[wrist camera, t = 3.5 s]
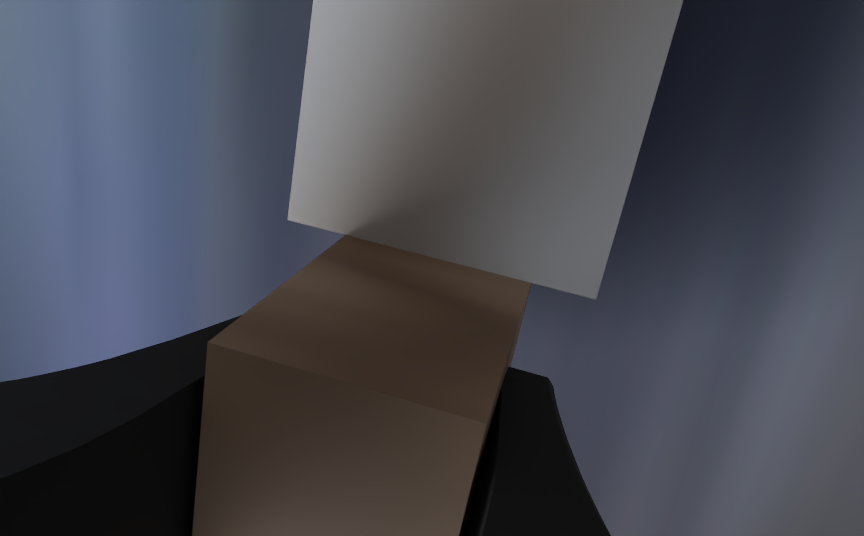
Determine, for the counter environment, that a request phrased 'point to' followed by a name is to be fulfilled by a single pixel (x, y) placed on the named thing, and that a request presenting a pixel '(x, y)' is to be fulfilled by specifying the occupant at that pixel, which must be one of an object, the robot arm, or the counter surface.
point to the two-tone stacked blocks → (422, 253)
